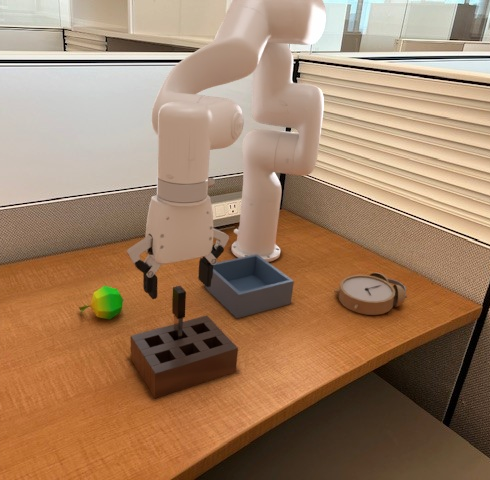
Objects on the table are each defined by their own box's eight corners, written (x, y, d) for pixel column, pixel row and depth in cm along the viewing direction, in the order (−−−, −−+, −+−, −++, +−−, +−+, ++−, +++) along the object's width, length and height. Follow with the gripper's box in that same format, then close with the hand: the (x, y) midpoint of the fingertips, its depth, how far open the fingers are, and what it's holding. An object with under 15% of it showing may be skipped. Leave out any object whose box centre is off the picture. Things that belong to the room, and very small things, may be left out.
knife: (170, 355, 85) (172, 287, 79) (178, 353, 86) (180, 285, 80) (176, 362, 83) (178, 293, 77) (183, 360, 84) (186, 291, 78)
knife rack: (130, 359, 84) (130, 335, 81) (205, 337, 90) (207, 315, 88) (154, 398, 75) (155, 373, 73) (235, 371, 82) (238, 348, 80)
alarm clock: (328, 281, 106) (385, 262, 109) (328, 299, 108) (383, 280, 111) (360, 308, 96) (421, 286, 100) (359, 327, 98) (419, 305, 102)
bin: (204, 287, 107) (205, 264, 105) (254, 275, 113) (256, 253, 111) (236, 318, 96) (238, 294, 94) (290, 303, 102) (294, 280, 100)
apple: (122, 278, 94) (77, 287, 90) (131, 309, 92) (84, 319, 88) (115, 291, 100) (72, 299, 96) (123, 319, 98) (79, 329, 94)
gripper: (219, 176, 78) (213, 269, 85) (118, 187, 70) (120, 288, 77) (244, 190, 72) (235, 289, 79) (137, 203, 64) (137, 312, 71)
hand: (178, 289), depth 78 cm, fingers open, 9 cm apart
